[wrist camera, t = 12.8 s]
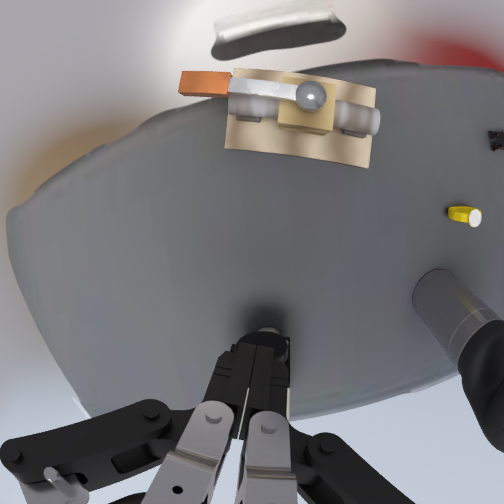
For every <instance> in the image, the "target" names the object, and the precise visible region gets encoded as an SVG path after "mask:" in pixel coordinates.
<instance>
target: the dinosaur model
mask: <svg viewBox="0 0 504 504" xmlns="http://www.w3.org/2000/svg"><path fill="white" fill-rule="evenodd" d="M488 133H489V136H490V139H491V140H492V139H494V138H499V137H504V132H499V133H497V132H493V131H488ZM491 147H492V150H493V151H495V150H496V149H504V145H500V144H496V143H492V146H491Z"/></svg>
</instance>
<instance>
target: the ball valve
mask: <svg viewBox="0 0 504 504" xmlns="http://www.w3.org/2000/svg"><path fill="white" fill-rule="evenodd" d="M240 342H242V343H247V344H252V345H256V350H255V355H254V360H253V365H252V371H253V366H254V361H255V356H256V352H257V347H258V346H264V347H269V348H274V355H273V360H278V361H284V363H285V365H286V367H287V368H288V387H287V388H288V392H287V420H288V422H289V416H290V337H283V336H281V335H280V334H279V332H278V331H277V330H276V329H275V328H272V327H265V328H261V329H259V330H258V331H257V332H253V333H250V334H247V335H245V336H243V337H242V338H240V339H239V341H238V342H237V343H236V344H232V346H231V350H230V352H234V353H237V351H238V348H239V344H240ZM252 371H251V375H252ZM250 380H251V376H250ZM249 385H250V381H249ZM248 391H249V386H248ZM248 391H247V396H248ZM247 396H246V401H247ZM246 401H245V406H246ZM245 406H244V410H243V415H242V419H241V424H240V428H239V432H240V430H241V426H242V421H243V416H244V411H245Z"/></svg>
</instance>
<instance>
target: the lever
mask: <svg viewBox="0 0 504 504" xmlns="http://www.w3.org/2000/svg"><path fill="white" fill-rule="evenodd" d="M178 92H179V93H180V94H182V95H184V96H200V97H218V98H230V95H231V94H237V95H248V96H257V97H265V98H272V99H279V100H285V101H291V102H296V104H297V105H298V106H299V107H300V108H301V109H302V110H304V111H308V112H314V111H317V110H319V109H320V108H321V107H322V106H323V105H324V103H325V102H326V98H327V94H326V90H325V89H324V87H323V86H322V85H321V84H319V83H318V82H315V81H305V82H302V83H301V84H300V85H299V86H298V85H292V84H286V83H280V82H272V81H264V80H256V79H246V78H233V76H232V75H231V73H230V72H213V71H182V75H181V79H180V84H179V90H178Z"/></svg>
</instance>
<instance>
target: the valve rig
mask: <svg viewBox="0 0 504 504" xmlns="http://www.w3.org/2000/svg"><path fill="white" fill-rule="evenodd" d="M233 78H246V79H256V80H264V81H272V82H280V83H286V84H292V85H298V86H299V85H300V84H301V83H302V82H305V81H315V82H318V83H319V84H321V85H322V86H323V87H324V89H325V90H326V94H327V98H326V102H325V103H324V105H323V106H322V107H321V108H320V109H319V110H317V111H314V112H308V111H304V110H302V109H301V108H300V107H299V106H298V105H297V104H296V102H291V101H285V100H279V99H272V98H265V97H257V96H248V95H237V94H231V95H230V98H228V120H227V130H226V139H225V148H226V149H238V150H249V151H259V152H268V153H277V154H285V155H293V156H300V157H307V158H313V159H319V160H326V161H331V162H337V163H342V164H348V165H353V166H358V167H363V168H368V167H369V159H370V151H371V142H372V135H373V136H375V135H376V134H377V132H378V129H379V125H380V112H379V110H378V109H376V108H375V91H376V89H375V88H371V87H367V86H363V85H359V84H354V83H350V82H345V81H341V80H336V79H331V78H325V77H319V76H313V75H307V74H300V73H292V72H283V71H273V70H260V69H243V68H234V71H233Z"/></svg>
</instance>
